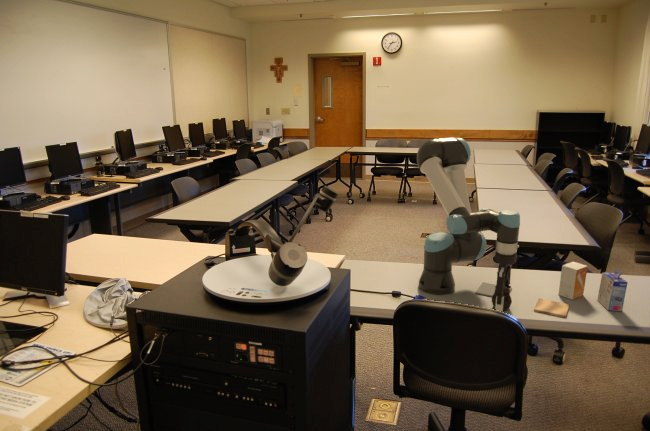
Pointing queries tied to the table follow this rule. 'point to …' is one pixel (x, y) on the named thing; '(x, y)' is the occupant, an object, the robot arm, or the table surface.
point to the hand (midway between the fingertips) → (501, 307)
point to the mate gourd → (506, 299)
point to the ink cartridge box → (612, 291)
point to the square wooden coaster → (552, 307)
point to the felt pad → (486, 289)
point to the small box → (572, 280)
